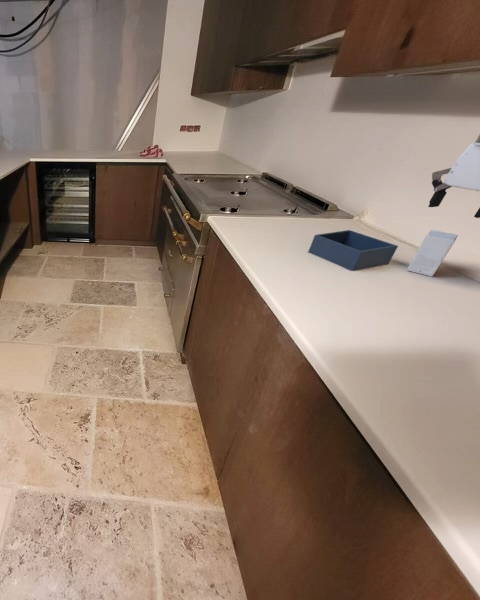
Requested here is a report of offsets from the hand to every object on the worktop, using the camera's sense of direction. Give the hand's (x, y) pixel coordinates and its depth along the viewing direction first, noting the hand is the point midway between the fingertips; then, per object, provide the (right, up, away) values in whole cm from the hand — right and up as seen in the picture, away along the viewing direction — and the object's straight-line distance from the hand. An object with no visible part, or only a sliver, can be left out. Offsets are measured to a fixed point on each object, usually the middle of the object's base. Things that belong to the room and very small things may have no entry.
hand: (455, 211), depth 84 cm
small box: (+1, -15, +9) cm, 17 cm away
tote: (-15, -10, +16) cm, 24 cm away
